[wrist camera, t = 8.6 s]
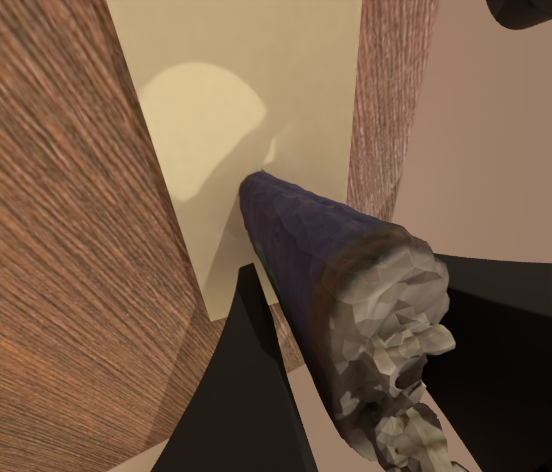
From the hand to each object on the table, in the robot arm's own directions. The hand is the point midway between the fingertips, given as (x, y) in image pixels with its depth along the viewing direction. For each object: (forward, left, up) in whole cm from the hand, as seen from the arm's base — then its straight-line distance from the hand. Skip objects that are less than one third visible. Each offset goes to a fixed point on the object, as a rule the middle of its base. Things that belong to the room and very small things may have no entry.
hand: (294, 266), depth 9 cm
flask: (0, +1, -4) cm, 4 cm away
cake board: (0, -4, -4) cm, 6 cm away
